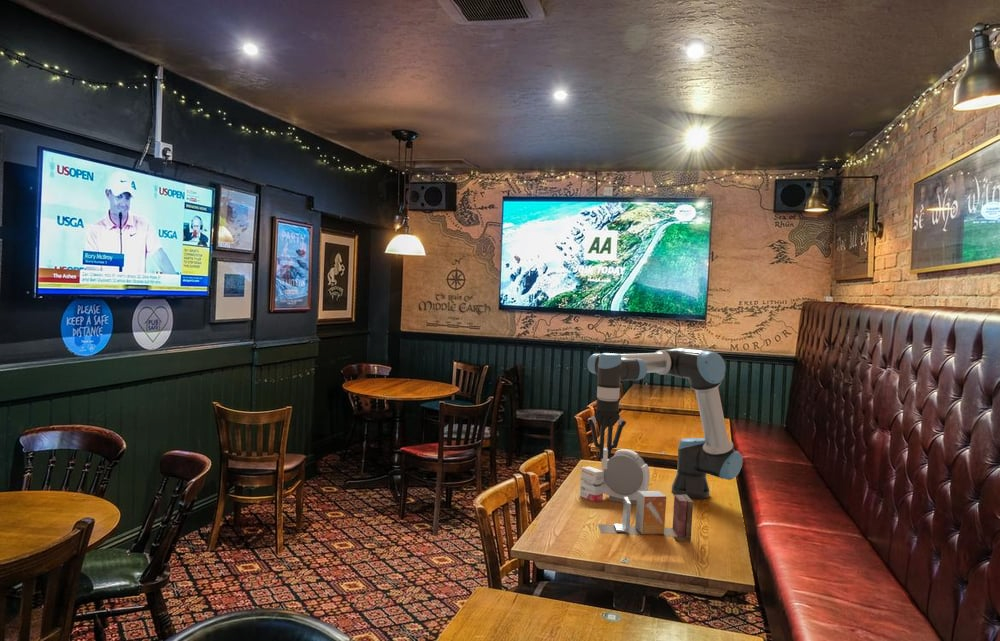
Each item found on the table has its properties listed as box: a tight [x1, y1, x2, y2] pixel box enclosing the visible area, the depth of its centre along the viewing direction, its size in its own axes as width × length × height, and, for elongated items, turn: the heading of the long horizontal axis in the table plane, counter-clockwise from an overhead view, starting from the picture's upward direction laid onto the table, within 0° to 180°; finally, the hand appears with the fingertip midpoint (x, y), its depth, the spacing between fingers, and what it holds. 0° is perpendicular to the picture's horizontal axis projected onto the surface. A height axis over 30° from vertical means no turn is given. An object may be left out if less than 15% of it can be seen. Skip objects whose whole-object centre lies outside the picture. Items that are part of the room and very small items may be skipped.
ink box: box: [579, 466, 604, 503], centre depth 258 cm, size 8×5×12 cm, turn 37°
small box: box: [634, 490, 667, 534], centre depth 221 cm, size 8×6×13 cm
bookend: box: [613, 497, 632, 533], centre depth 221 cm, size 4×7×10 cm, turn 179°
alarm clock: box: [600, 448, 651, 506], centre depth 257 cm, size 18×8×20 cm, turn 63°
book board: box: [597, 494, 694, 543], centre depth 221 cm, size 30×8×14 cm, turn 89°
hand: (604, 467), depth 220 cm, fingers closed
